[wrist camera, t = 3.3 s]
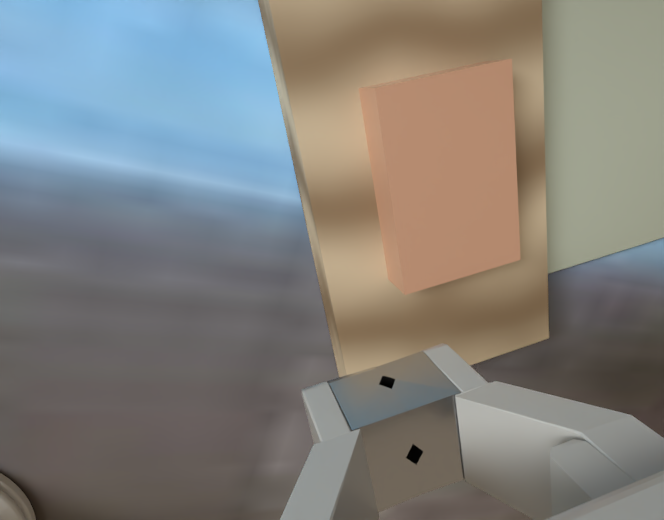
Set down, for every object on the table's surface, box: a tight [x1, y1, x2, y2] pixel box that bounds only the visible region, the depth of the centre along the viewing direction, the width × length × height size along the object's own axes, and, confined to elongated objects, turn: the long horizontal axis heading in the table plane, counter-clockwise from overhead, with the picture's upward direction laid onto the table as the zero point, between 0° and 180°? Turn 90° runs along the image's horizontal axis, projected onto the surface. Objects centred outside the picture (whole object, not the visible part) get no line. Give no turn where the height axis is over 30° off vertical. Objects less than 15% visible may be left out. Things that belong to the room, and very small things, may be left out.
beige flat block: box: [258, 0, 549, 377], centre depth 24 cm, size 22×12×2 cm, turn 11°
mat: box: [542, 0, 664, 274], centre depth 27 cm, size 16×11×1 cm
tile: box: [359, 59, 521, 295], centre depth 22 cm, size 9×6×2 cm, turn 11°
